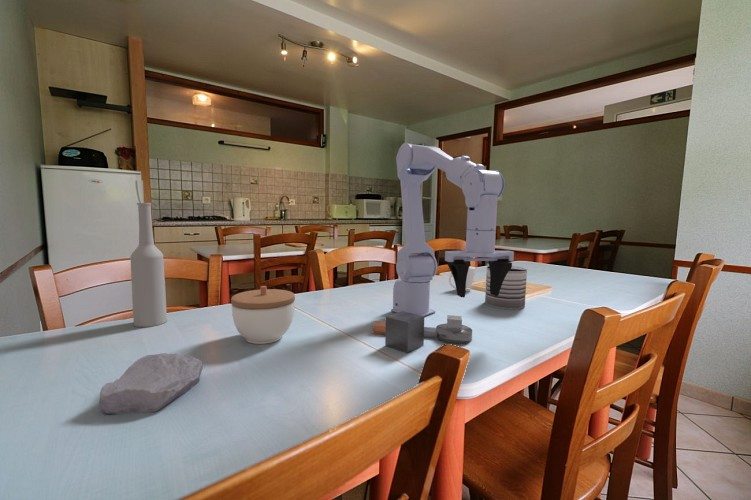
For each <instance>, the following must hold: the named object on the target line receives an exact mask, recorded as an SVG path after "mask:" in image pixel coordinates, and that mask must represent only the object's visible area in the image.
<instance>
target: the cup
mask: <svg viewBox="0 0 751 500" xmlns="http://www.w3.org/2000/svg"><path fill="white" fill-rule="evenodd" d="M476 269H477V268H476V267H474V266H470V265H469V270H468V273H467V279H466V292H469V291H472V289H471V288H472V286H473V283H474V277H475V273H476ZM452 277H453V275H452V273H451V272H450V274H449V276H448V282H449V285H450V286H451V287H452V288H453V289H455V290H456V286H454V285H453V284H452Z"/></svg>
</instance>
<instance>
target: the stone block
mask: <svg viewBox="0 0 751 500" xmlns="http://www.w3.org/2000/svg"><path fill="white" fill-rule="evenodd" d="M202 363H203V362H202V361H201V360H200V359H199V358H197V357H194V356H192V355H191V356H190V355H185V354H179V353H176V352H175V353H166V352H163V353H157V354H148V355H145V356H141V357H140V358H138V359H137V360H136V361H135V362H133V363H132V364H131V365H130V366H129V367H128V368H127V369H126V370H125V372H124V373H123V374H122V375H121V376H120V377H119V378H116V379H115V380H114V381H112V382H107V383H105V384H104V385H103V386H102V388H101V390H100V392H99V396H100V397H99V402H98V405H99V408H100V411H101V412H103V413H104V414H105V415H111V414H116V415H121V414H128V413H135V412H136V413H143V414H144V413H156V412H158V411H159V410H160V411H161V410H162V409H163V408H165V407H166V406H167V405H169V404H171V403H172V402H173V401H174V400H175V399H177V398H179V397H180V396H183V395H184V394H186V392H188V391H190V390H191V389H192V388H193V387H195V386H197V384H199V382H200V377H201V375H202V371H203V364H202Z"/></svg>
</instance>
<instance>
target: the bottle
mask: <svg viewBox="0 0 751 500" xmlns="http://www.w3.org/2000/svg"><path fill="white" fill-rule="evenodd" d="M136 205H137V207H138V210H137V211H138V245H137V247H136V248H135V249H134V251H133V252H132V253H131V255H130V258H129V259H130V274H131V275H130V277H131V279H130V280H131V299H132V316H133V318H132V319H133V326H134V327H136V328H150V327H156V326H157V327H158V326H160V325H163V324H166V323H167V322H168V317H167V315H168V314H167V298H166V297H167V296H166V295H167V293H166V281H165V280H166V279H165V263H164V254H163V252H162V251H161V250H160V249H159V248H158V247H157V246H156V245H155V240H154V233H153V223H152V221H153V220H152V207H151V206H152V203H151V202H137V203H136Z"/></svg>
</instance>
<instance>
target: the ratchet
mask: <svg viewBox="0 0 751 500" xmlns="http://www.w3.org/2000/svg"><path fill="white" fill-rule="evenodd" d="M385 333H386V321H381V320H375V322H374V323H373V325H372V334H373V335H374V334H375V335H385ZM424 338H426V339H437V340H438V341H440V342H442V343H445V344H451V345H466V344H469V343H471V342H472V341H473V329H472V328H471V327H470V326H468V325H464V324H463V318H462V316H461V315H452V314H450V315H449V314H447V315H446V323H440V324H437V325H436V327H430V326H424Z"/></svg>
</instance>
